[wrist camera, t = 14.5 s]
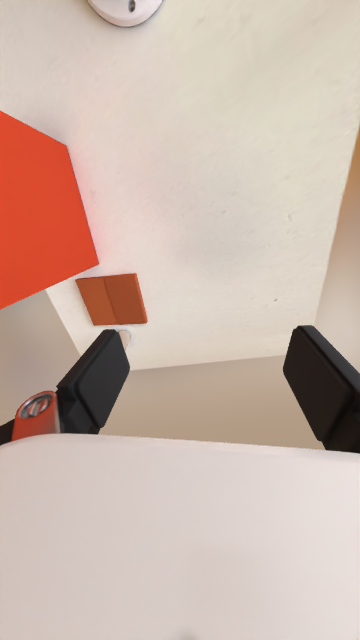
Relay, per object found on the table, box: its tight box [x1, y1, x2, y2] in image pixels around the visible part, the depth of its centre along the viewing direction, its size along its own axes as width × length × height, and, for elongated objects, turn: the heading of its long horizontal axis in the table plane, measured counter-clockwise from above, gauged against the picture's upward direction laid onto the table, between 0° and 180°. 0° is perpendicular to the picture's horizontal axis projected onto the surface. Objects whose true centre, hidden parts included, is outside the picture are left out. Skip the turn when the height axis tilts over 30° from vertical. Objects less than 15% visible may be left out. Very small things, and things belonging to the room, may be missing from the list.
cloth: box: [75, 273, 148, 326], centre depth 39 cm, size 11×13×1 cm
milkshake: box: [119, 330, 131, 350], centre depth 40 cm, size 5×5×10 cm
